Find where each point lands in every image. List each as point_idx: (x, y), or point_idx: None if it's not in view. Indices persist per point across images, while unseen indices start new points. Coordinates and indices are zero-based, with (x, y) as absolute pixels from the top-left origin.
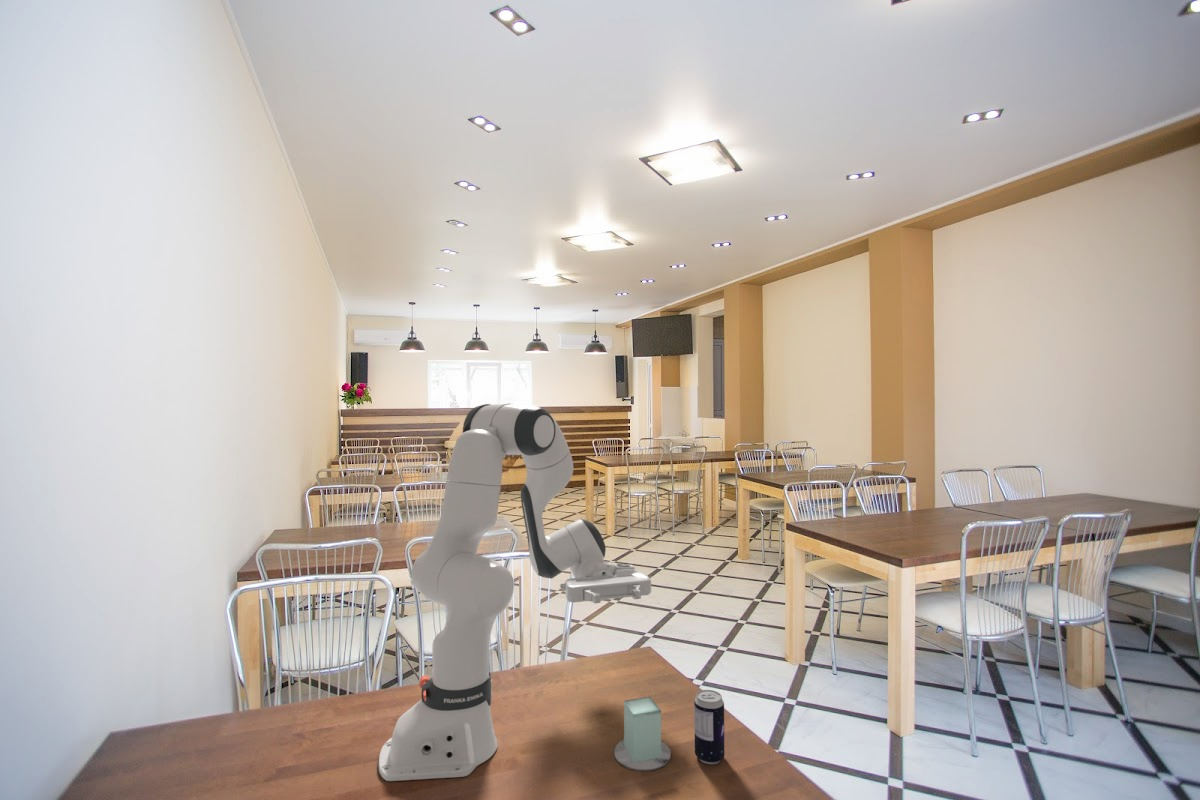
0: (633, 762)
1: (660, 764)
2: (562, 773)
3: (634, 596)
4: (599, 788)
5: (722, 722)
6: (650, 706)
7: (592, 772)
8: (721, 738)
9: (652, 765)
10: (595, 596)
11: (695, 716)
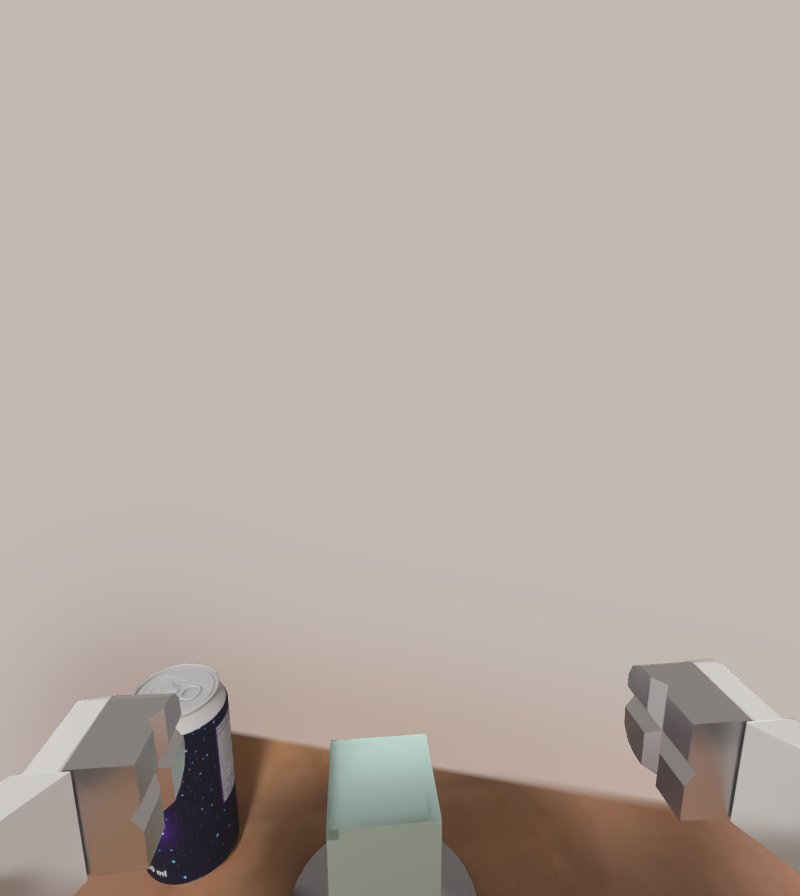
0: None
1: None
2: (641, 865)
3: (179, 747)
4: (526, 787)
5: None
6: (354, 766)
7: (550, 852)
8: None
9: None
10: (691, 663)
11: (228, 739)
